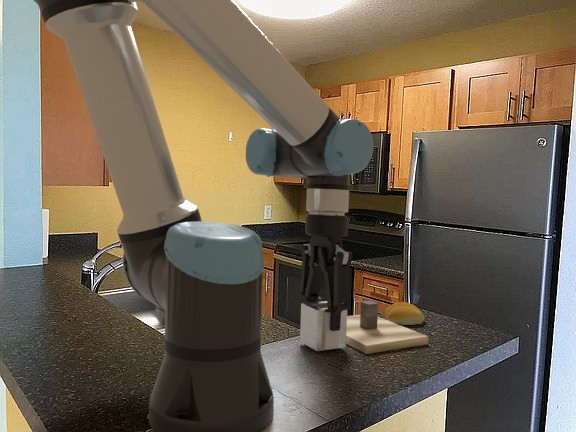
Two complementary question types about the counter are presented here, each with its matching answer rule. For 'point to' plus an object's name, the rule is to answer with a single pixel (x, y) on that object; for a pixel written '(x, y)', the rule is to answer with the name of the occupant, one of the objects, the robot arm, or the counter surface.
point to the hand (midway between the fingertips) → (321, 342)
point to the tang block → (379, 332)
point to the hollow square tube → (318, 325)
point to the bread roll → (404, 314)
